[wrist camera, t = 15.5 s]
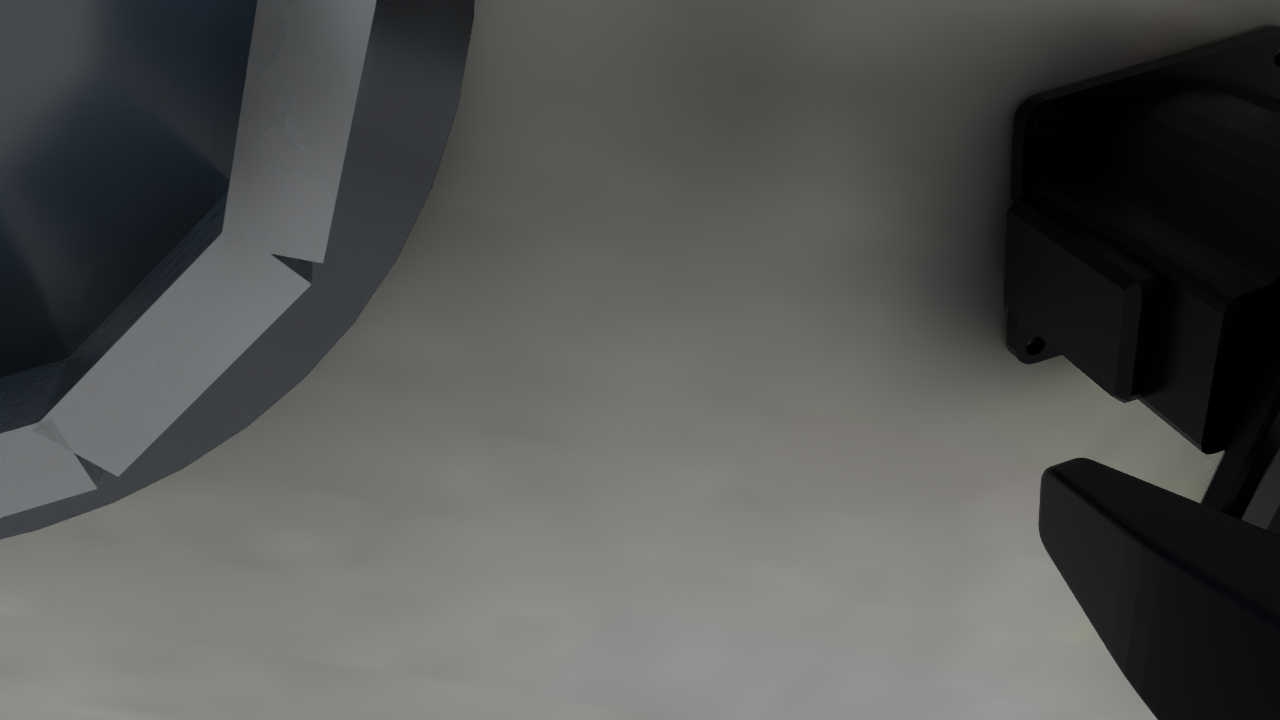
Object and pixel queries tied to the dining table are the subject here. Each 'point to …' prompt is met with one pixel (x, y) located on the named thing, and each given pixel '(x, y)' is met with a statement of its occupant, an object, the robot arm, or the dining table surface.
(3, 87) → the grey round dish
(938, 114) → the dining table surface
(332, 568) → the dining table surface
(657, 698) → the dining table surface
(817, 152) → the dining table surface
